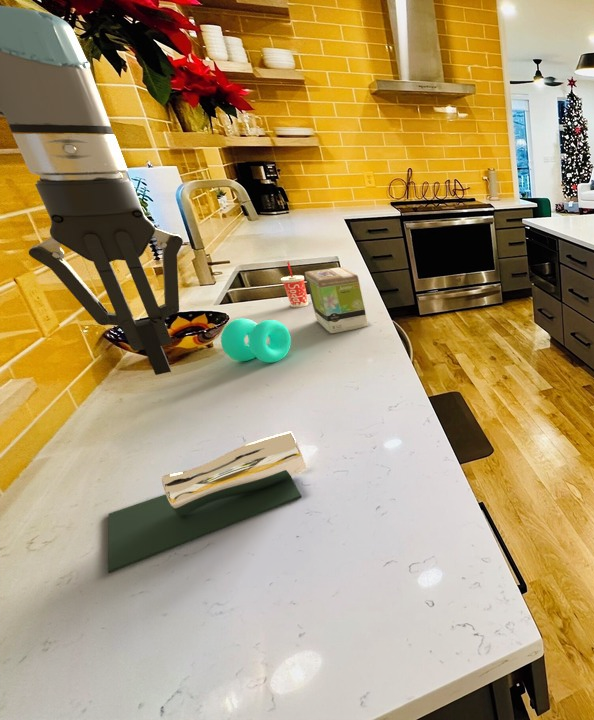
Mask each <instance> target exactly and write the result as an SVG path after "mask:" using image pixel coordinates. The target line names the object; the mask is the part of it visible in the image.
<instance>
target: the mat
mask: <svg viewBox="0 0 594 720" xmlns="http://www.w3.org/2000/svg"><path fill="white" fill-rule="evenodd" d="M301 498H303V496H302V494H301V492H300V491H299V488H298V486H297V485H296V482H295V481H294V479H293V477H291V478H288V479H286V480H284V481H281V482H279V483H277V484H274V485H271V486H268V487H266V488H262V489H259V490H255V491H252V492H248V493H244V494H240V495H235V496H231V497H227V498H224V499H220V500H217V501H214V502H211V503H209V504H206V505H204V506H202V507H200V508H198V509H196V510H194V511H193V512H191V513H189V514H187V515H185V516H183V517H179V516H177V514H176V513H175V512H174V510H173V508H172V506H171V505H170V502H169V500H168V498H167V496H166V493H165V494H162V495H160V496H157V497H154V498H151V499H147V500H145V501H142V502H139V503H136V504H133V505H130V506H127V507H124V508H121V509H118V510H116V511H111V512H109V513H108V525H107V526H108V528H107V529H108V530H107V531H108V533H107V535H108V536H107V537H108V541H107V544H108V545H107V572H108V574H111V573H114V572H116V571H118V570H121V569H123V568H126V567H128V566H131V565H134V564H136V563H139V562H141V561H143V560H146V559H148V558H151V557H154V556H156V555H157V556H158V555H159V554H162V553H164V552H166V551H169V550H172V549H174V548H177V547H179V546H182V545H184V544H187V543H189V542H192V541H195V540H197V539H200V538H202V537H205V536H207V535H210V534H212V533H215V532H218V531H220V530H223V529H225V528H228V527H229V526H232V525H236V524H238V523H240V522H243V521H246V520H249V519H251V518H253V517H256V516H258V515H260V514H263V513H265V512H269V511H271V510H274V509H275V508H279V507H281V506H283V505H286V504H288V503H291V502H294V501H296V500H299V499H301Z"/></svg>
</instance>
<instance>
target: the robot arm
mask: <svg viewBox="0 0 594 720" xmlns="http://www.w3.org/2000/svg"><path fill="white" fill-rule="evenodd" d="M103 103H104V102H103V101H102V97H101V96H100V92H99V89H98V87H97V85H96V82H95V79H94V76H93V73H92V70H91V62H90V61H89V60H88V59H87V58H86V55H85V54H84V51H83V49H82V47H81V44H80V41H79V40H78V38H77V36H76V33H75V30H73V28H72V26H71V25H70V24H69V23H68V22H67V21H66V20H64V19H63V18H61V17H59V16H57V15H54V14H51V13H48V12H44V11H40V10H35V9H29V8H23V7H16V6H9V5H0V117H4V118H5V120H6V122H7V125H8V127H9V129H10V132H11V133H12V134H11V135H12V136H13V138H14V140H15V143H16V146H17V148H18V150H19V152H20V154H21V157H22V158H23V162H24V163H25V166H26V167H27V170H28V171H29V173H31V174H32V175H36V176H39V180H38V179H37V180H36V183H34V185H35V188H36V190H37V192H38V194H39V196H40V198H41V201H42V203H43V205H44V207H45V210H46V213H47V214H48V217H49V218H50V223H51V224H50V228H49V235H50V237H48V238H46V239H45V240H43V241H42V242H40V243H39V244H35V245H32V246H31V247H30V248H29V250H28V255H29V256H30V257H31V258H33V259H34V260H35V261H37V262H39V263H41V264H42V265H44V266H46V267H47V268H49V269H50V270H51V271H52V272H53V273H54V274H55V276H56V277H57V278H58V279H59V281H61V283H62V284H63V285H64V286H65V287H66V288H67V289H68V291H69V292H70V293H71V294H72V295H73V297H74V298H75V299H76V300H77V301H78V302H79V304H80V305H81V306H82V307H83V308H84V310H85V311H86V312H87V313H88V314H89V315H90V316H91V318H92V319H93V320H94V321H95V322H96V323H97V324H98V325H99V326H116V327H120V328H121V329H122V331H123V333H124V335H125V338H126V340H127V343H128V345H129V347H130V349H132V351H134V352H138V351H143V350H144V351H145V354H146V355H147V358H148V360H149V363H150V365H151V368H152V370H153V372H154V375H155V376H159V375H163V374H167V373H172V371H171V366H170V364H169V360H168V359H167V356H166V354H165V350H164V348H163V346H169V345H171V344H172V338H171V336H170V332H169V330H168V326H167V324H166V322H165V321H166V318H168V317H170V316H172V315H176V314H178V313H179V312H180V295H179V270H178V269H179V268H178V254H179V252H180V250H181V247H182V245H183V243H184V240H183V238H182V237H181V236H180V234H178V233H173V232H172V233H170V232H168V231H164V230H162V229H160V228H157V227H155V225H154V223H153V222H152V221H151V220H150V219H149V218H148V217H147V216H146V215H145V213H144V210H143V207H142V205H141V202H140V199H139V197H138V194H137V191H136V188H135V186H134V184H133V180H130V179H129V178H128V177H124V176H123V173H126V172H128V167H127V164H126V162H125V159H124V157H123V154H122V151H121V148H120V146H119V143H118V140H117V138H116V135H115V134H114V131H113V129H112V126H111V125H112V124H111V123H110V119H109V118H108V117H109V116H108V114H107V112H106V109H105V106H104V104H103ZM153 238H154V239H156V245H157V247H158V248H159V249H161V250H162V251H161V253H162V254H161V256H162V258H161V259H162V274H163V275H162V276H163V295H164V296H163V297H164V299H163V300H164V304H161V305H159V304H158V302H157V299H156V296H155V294H154V292H153V289H152V285H151V284H150V280H149V278H148V276H147V273H146V271H145V269H144V266H143V263H142V261H141V258H140V257H142V256H143V255H144V253H145V251H146V249H147V248H148V246H149V243H150V242H151V240H152V239H153ZM61 246H63V247H65V248H67V249H69V250H70V251H72V252H73V253H75V254H77V255H79V256H81V257H82V258H84V259H85V260H87V261H90V262H92V263H93V265H94V268H95V269H96V271H97V273H98V275H99V278H100V280H101V283H102V285H103V287H104V289H105V292H106V294H107V296H108V299H109V301H110V304H111V306H112V309H113V311H114V312H110V311H108V309H107V308H106V307H105V305H103V303H102V301H100V300H99V299H98V297H97V295H95V294H94V292H93V291H92V289H90V288H89V286H88V285H87V284H86V283H85V281H84V280H83V279H82V278H81V277H80V275H78V273H77V272H76V271H75V270H74V268H73V267H72V266H71V265H70V264H69V263H68V262H67V261H66V260H65V259H64V258H65V256H66V253H65V251H64V250H63V249H62V247H61ZM114 261H125V264H126V267H127V268H128V270H129V273H130V274H131V278H132V280H133V283H134V285H135V288H136V290H137V293H138V295H139V298H140V300H141V303H142V305H143V307H144V309H145V313H146V314H147V317H148V318H147V319H142V320H135V318H134V314H133V313H132V311H131V309H130V306H129V304H128V301H127V299H126V297H125V294H124V292H123V289H122V287H121V283H120V281H119V279H118V276H117V274H116V272H115V270H114V269H115V268H114V267H113V264H112V262H114Z"/></svg>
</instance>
